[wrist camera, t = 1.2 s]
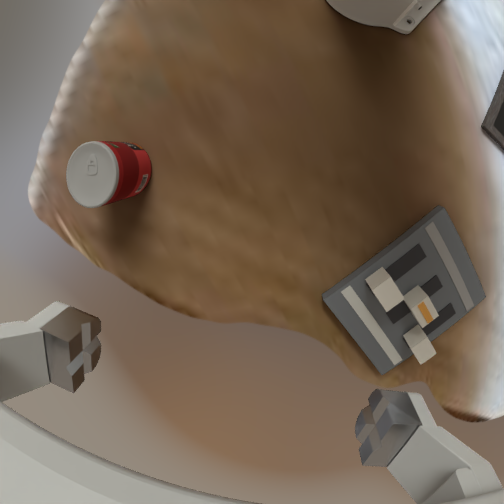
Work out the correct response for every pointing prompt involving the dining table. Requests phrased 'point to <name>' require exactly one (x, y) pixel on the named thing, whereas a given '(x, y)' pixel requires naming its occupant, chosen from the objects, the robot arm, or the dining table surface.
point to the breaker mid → (420, 306)
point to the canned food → (107, 172)
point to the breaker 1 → (384, 289)
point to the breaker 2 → (419, 344)
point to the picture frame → (496, 115)
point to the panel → (408, 289)
